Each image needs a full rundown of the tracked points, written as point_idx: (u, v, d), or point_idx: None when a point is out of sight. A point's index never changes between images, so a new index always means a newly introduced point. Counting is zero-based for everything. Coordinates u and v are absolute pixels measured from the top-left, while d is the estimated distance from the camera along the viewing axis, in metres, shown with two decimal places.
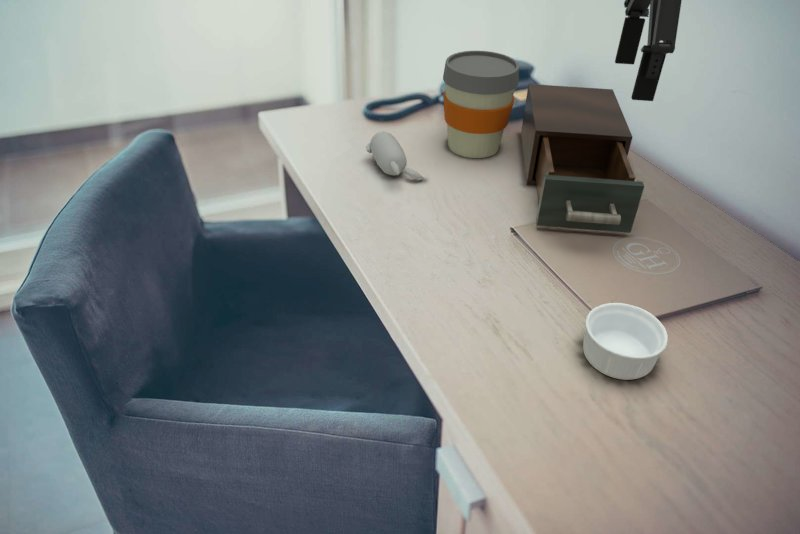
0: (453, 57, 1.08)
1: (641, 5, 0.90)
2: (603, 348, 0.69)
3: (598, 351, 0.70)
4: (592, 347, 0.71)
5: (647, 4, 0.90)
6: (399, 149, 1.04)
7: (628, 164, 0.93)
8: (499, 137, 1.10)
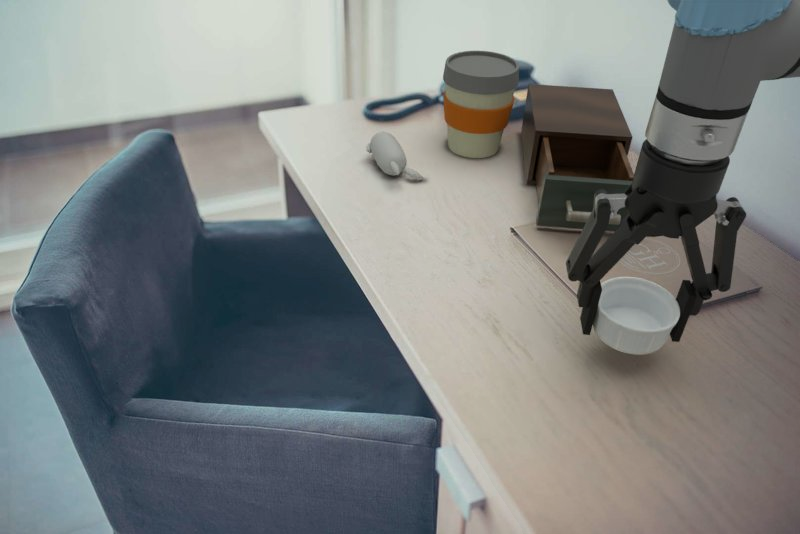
0: (453, 57, 1.08)
1: None
2: (613, 322, 0.67)
3: (608, 325, 0.68)
4: (602, 321, 0.69)
5: None
6: (399, 149, 1.04)
7: (628, 164, 0.93)
8: (499, 137, 1.10)
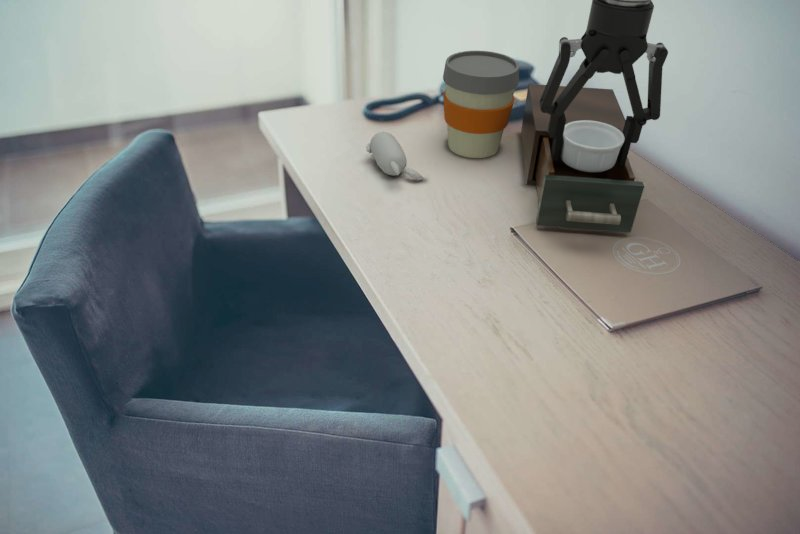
0: (453, 57, 1.08)
1: None
2: (574, 143, 0.89)
3: (570, 148, 0.90)
4: (566, 147, 0.91)
5: None
6: (399, 149, 1.04)
7: (628, 164, 0.93)
8: (499, 137, 1.10)
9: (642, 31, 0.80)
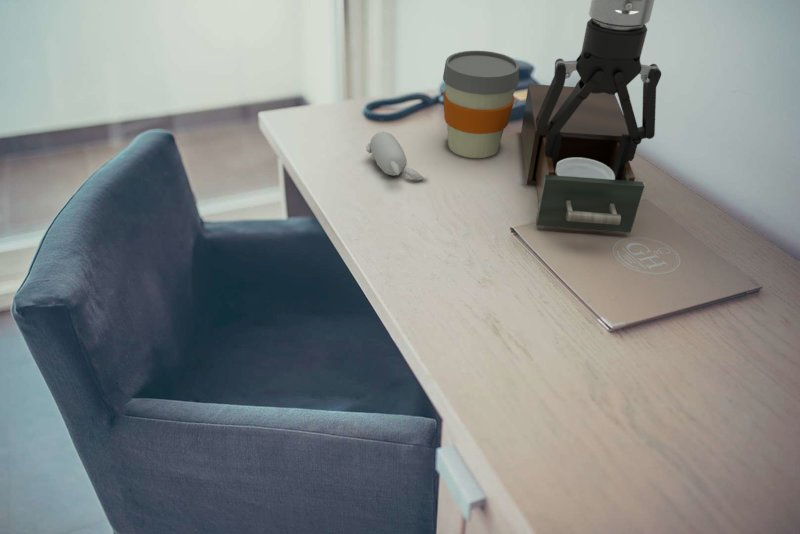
0: (453, 57, 1.08)
1: None
2: None
3: None
4: None
5: None
6: (399, 149, 1.04)
7: (628, 164, 0.93)
8: (499, 137, 1.10)
9: (636, 54, 0.82)
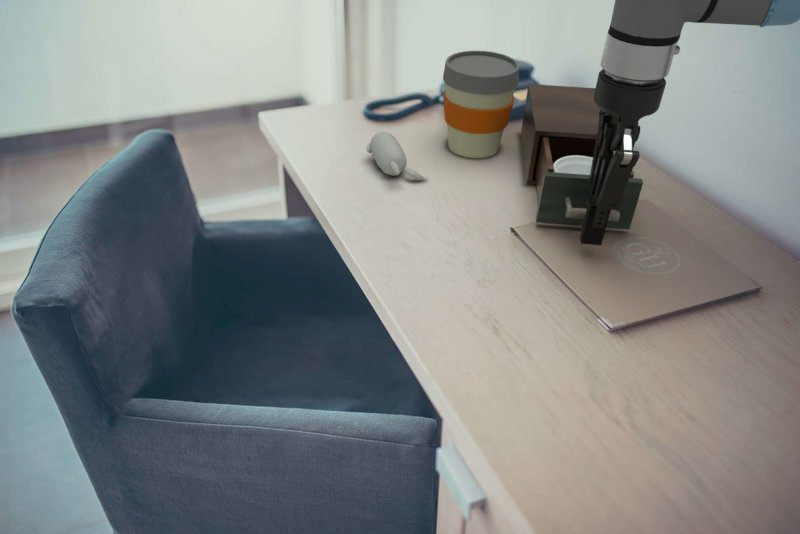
0: (453, 57, 1.08)
1: None
2: None
3: None
4: None
5: None
6: (399, 149, 1.04)
7: None
8: (499, 137, 1.10)
9: None
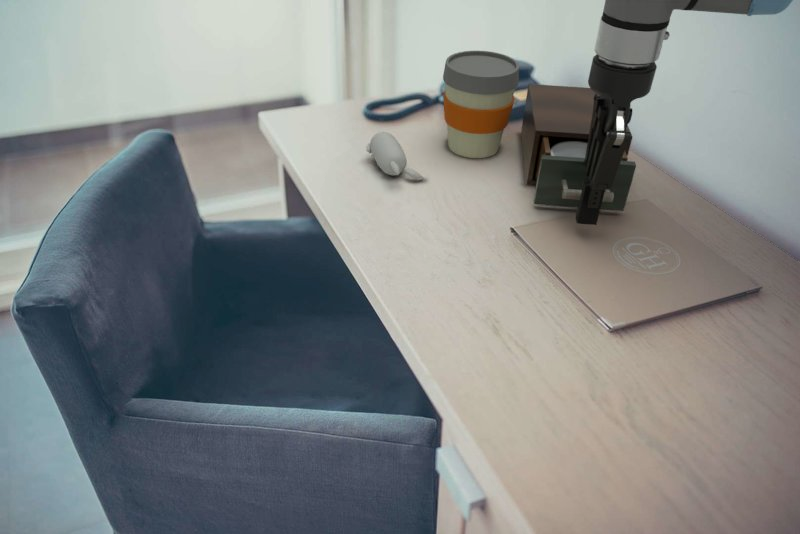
0: (453, 57, 1.08)
1: None
2: None
3: None
4: None
5: None
6: (399, 149, 1.04)
7: None
8: (499, 137, 1.10)
9: None
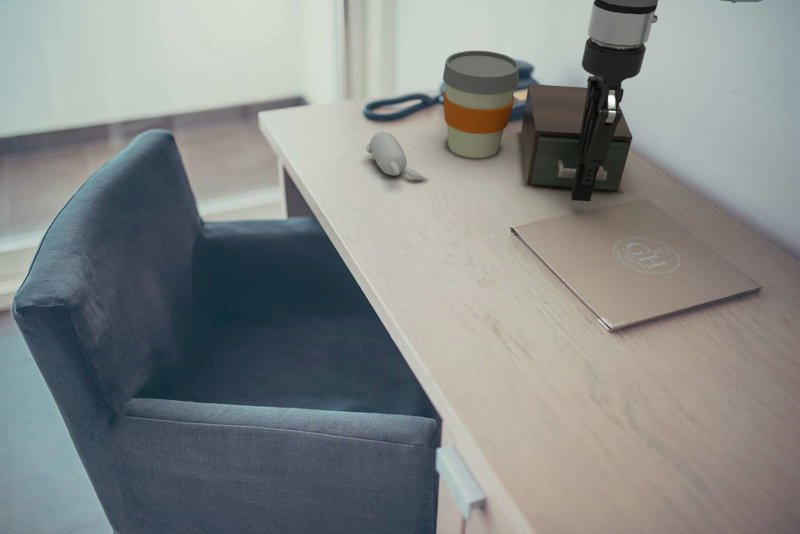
0: (453, 57, 1.08)
1: None
2: None
3: None
4: None
5: None
6: (399, 149, 1.04)
7: None
8: (499, 137, 1.10)
9: None
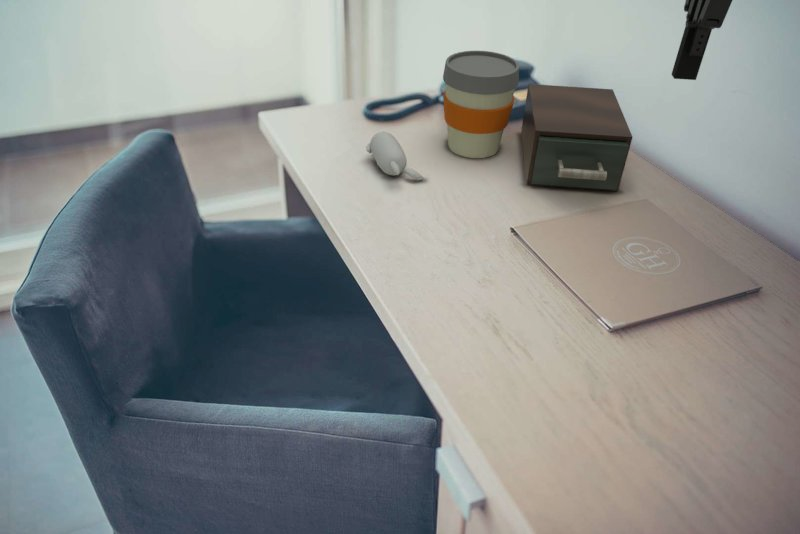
0: (453, 57, 1.08)
1: None
2: None
3: None
4: None
5: None
6: (399, 149, 1.04)
7: None
8: (499, 137, 1.10)
9: None
